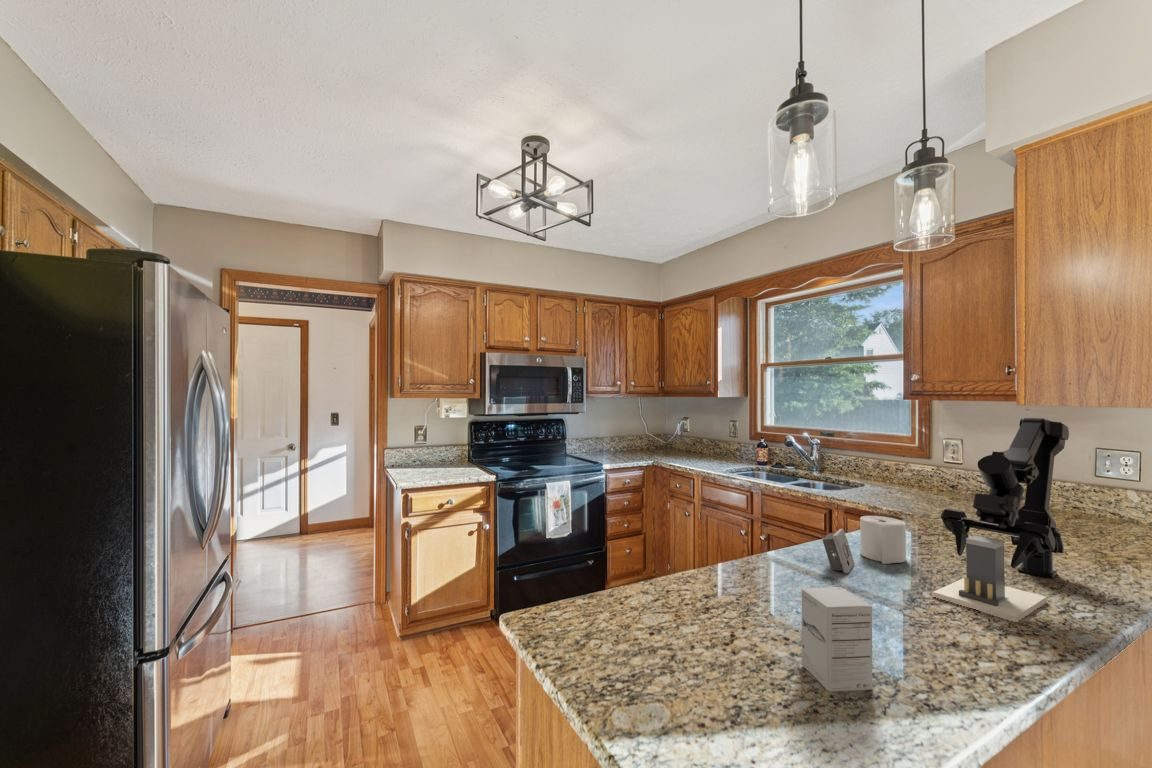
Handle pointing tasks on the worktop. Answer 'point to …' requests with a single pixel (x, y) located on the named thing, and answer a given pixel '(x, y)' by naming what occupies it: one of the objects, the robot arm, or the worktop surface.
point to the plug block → (986, 565)
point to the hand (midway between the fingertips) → (984, 560)
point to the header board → (992, 600)
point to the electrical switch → (838, 551)
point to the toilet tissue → (883, 539)
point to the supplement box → (837, 638)
